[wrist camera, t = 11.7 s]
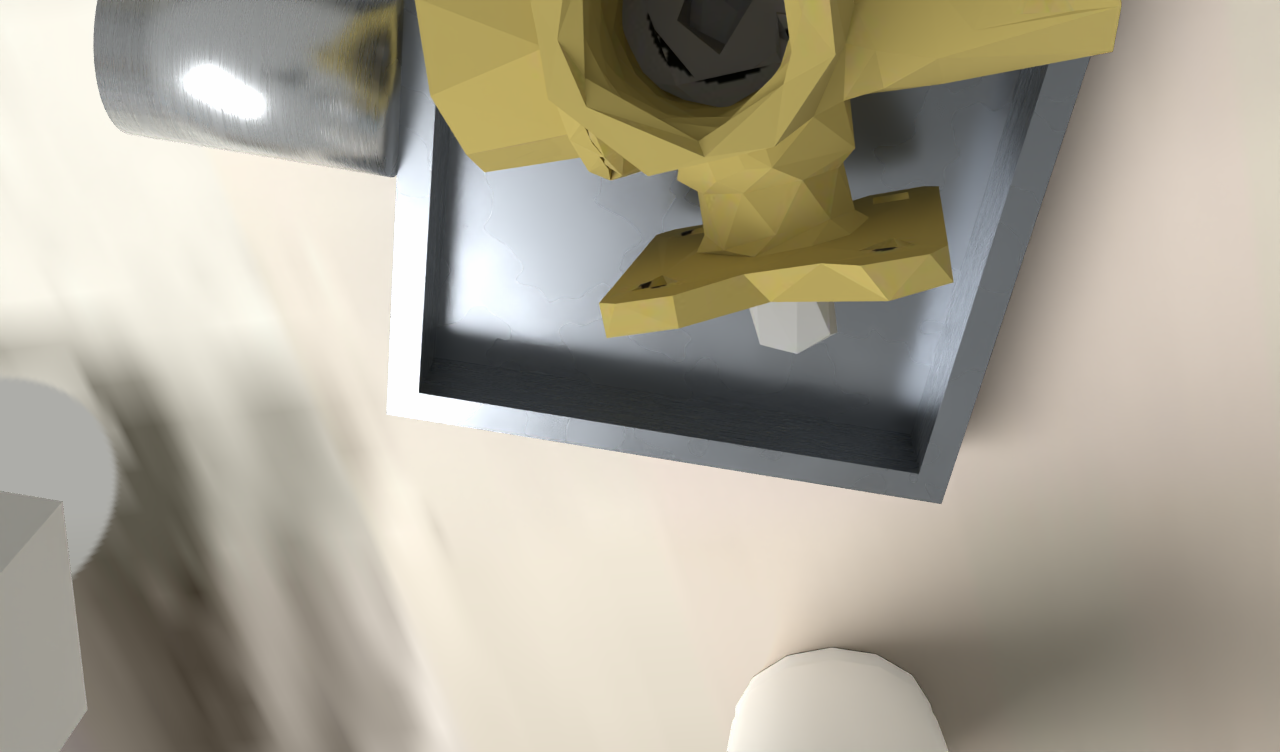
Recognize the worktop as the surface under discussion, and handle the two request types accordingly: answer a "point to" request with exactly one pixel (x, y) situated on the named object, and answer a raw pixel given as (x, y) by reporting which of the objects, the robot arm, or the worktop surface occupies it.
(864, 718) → the foam cup
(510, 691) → the worktop surface
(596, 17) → the ball valve
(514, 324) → the fitting cradle
